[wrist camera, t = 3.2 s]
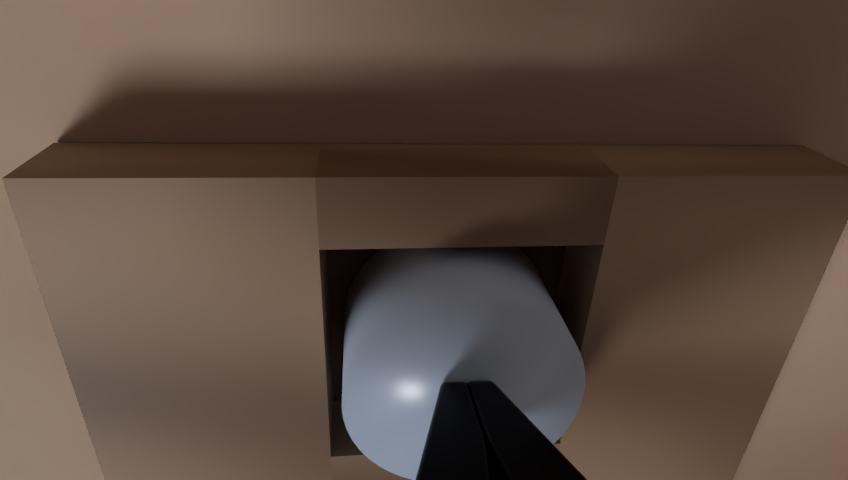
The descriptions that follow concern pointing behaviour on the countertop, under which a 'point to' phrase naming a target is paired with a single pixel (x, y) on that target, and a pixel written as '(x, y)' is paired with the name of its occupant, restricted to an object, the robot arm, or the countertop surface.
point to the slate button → (450, 345)
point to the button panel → (418, 228)
